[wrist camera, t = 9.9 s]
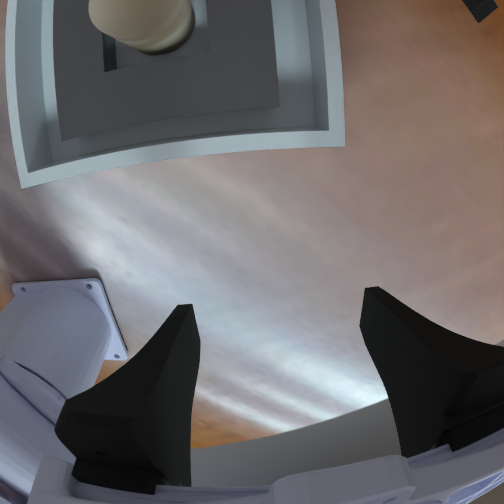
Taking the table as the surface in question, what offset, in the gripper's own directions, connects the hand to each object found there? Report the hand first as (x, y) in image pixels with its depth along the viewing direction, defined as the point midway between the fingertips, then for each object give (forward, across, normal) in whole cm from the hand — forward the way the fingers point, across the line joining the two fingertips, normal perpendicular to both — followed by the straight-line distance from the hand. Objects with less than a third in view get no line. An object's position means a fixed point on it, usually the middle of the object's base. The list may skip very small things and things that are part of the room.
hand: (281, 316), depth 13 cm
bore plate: (+8, +5, -14) cm, 17 cm away
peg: (+8, +5, -14) cm, 17 cm away
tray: (+8, +5, -14) cm, 17 cm away
